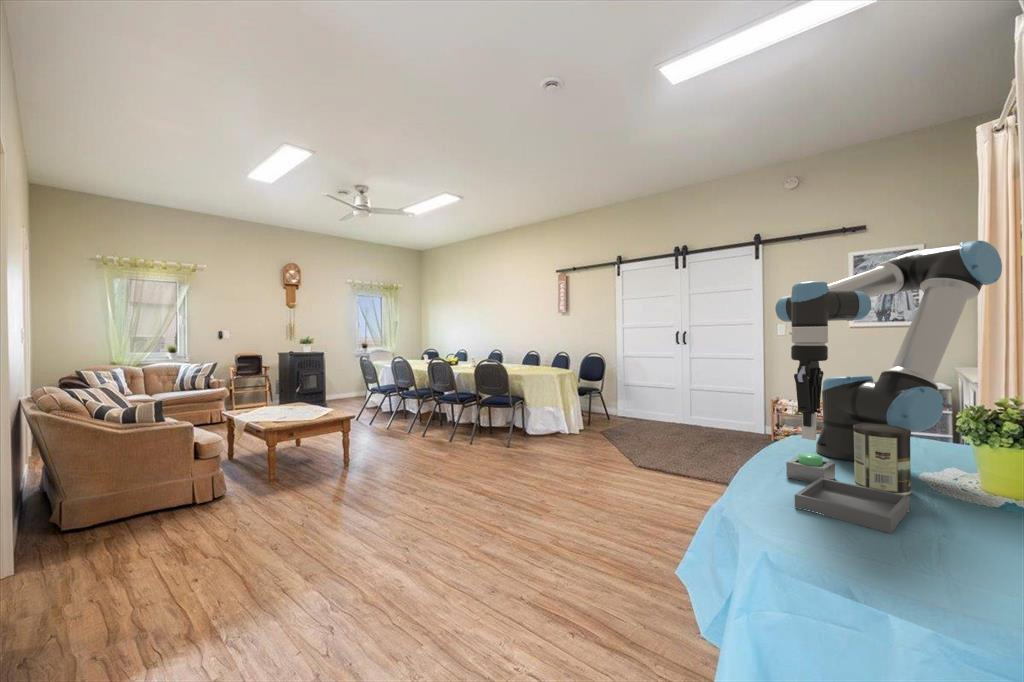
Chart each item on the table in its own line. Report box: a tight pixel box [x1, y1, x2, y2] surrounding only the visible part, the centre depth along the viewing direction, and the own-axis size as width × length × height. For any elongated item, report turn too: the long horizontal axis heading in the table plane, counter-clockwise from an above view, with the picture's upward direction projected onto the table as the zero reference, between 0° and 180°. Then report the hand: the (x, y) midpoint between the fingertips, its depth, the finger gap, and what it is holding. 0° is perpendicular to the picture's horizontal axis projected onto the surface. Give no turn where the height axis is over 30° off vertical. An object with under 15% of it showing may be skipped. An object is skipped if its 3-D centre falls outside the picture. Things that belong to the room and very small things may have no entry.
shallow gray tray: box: [794, 478, 911, 534], centre depth 91 cm, size 16×16×3 cm
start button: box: [798, 452, 824, 467], centre depth 110 cm, size 5×5×4 cm
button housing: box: [785, 455, 836, 484], centre depth 110 cm, size 8×8×4 cm
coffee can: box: [853, 424, 912, 496], centre depth 102 cm, size 10×10×14 cm
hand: (808, 438), depth 109 cm, fingers closed
